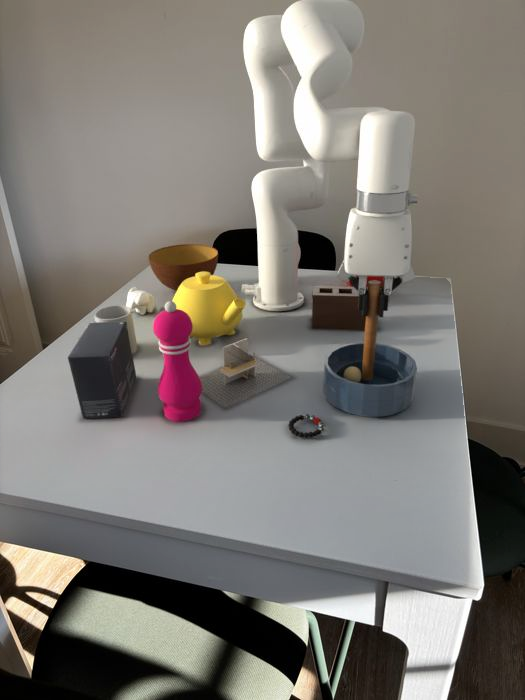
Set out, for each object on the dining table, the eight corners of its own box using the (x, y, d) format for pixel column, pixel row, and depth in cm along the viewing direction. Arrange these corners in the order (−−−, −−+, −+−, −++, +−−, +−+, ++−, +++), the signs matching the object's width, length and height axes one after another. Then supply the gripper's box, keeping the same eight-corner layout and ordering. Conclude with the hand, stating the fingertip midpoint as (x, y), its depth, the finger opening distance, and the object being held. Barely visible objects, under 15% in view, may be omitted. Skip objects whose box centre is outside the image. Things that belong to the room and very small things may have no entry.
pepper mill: (163, 401, 91) (148, 294, 82) (204, 398, 91) (194, 291, 82) (159, 425, 85) (142, 312, 75) (203, 422, 85) (193, 309, 76)
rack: (376, 331, 114) (379, 296, 110) (311, 328, 115) (312, 295, 112) (374, 320, 118) (377, 287, 115) (313, 318, 120) (313, 285, 116)
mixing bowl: (322, 417, 85) (323, 384, 82) (324, 371, 99) (325, 340, 96) (417, 423, 83) (422, 388, 80) (407, 375, 97) (410, 344, 94)
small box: (100, 379, 98) (89, 321, 93) (137, 377, 98) (127, 319, 93) (80, 419, 87) (66, 356, 81) (122, 418, 87) (110, 354, 81)
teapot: (271, 338, 112) (270, 277, 105) (214, 363, 102) (209, 298, 96) (213, 312, 125) (209, 256, 118) (158, 332, 115) (150, 273, 109)
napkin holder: (260, 379, 96) (259, 344, 93) (230, 393, 93) (228, 356, 89) (249, 372, 99) (247, 337, 95) (219, 385, 95) (216, 349, 92)
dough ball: (343, 388, 92) (342, 372, 90) (343, 378, 95) (342, 363, 93) (362, 387, 91) (361, 372, 90) (361, 378, 94) (361, 362, 93)
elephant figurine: (121, 313, 126) (117, 289, 123) (150, 304, 130) (147, 281, 128) (134, 321, 121) (130, 297, 118) (164, 312, 126) (161, 288, 123)
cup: (142, 353, 107) (136, 313, 103) (94, 367, 102) (86, 326, 98) (129, 340, 112) (123, 302, 108) (83, 353, 107) (75, 314, 103)
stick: (361, 380, 92) (368, 284, 83) (361, 374, 94) (368, 279, 85) (373, 381, 92) (381, 284, 83) (372, 375, 93) (380, 280, 85)
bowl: (139, 294, 136) (133, 257, 131) (184, 275, 149) (181, 240, 144) (189, 308, 127) (185, 269, 122) (233, 286, 140) (231, 250, 135)
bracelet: (331, 431, 82) (331, 426, 81) (301, 444, 79) (301, 438, 79) (310, 414, 86) (310, 409, 86) (281, 425, 83) (281, 420, 83)
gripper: (432, 196, 80) (418, 306, 89) (328, 196, 82) (324, 304, 91) (440, 207, 74) (424, 325, 82) (327, 207, 76) (323, 322, 84)
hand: (372, 313), depth 87 cm, fingers closed on stick, 2 cm apart
